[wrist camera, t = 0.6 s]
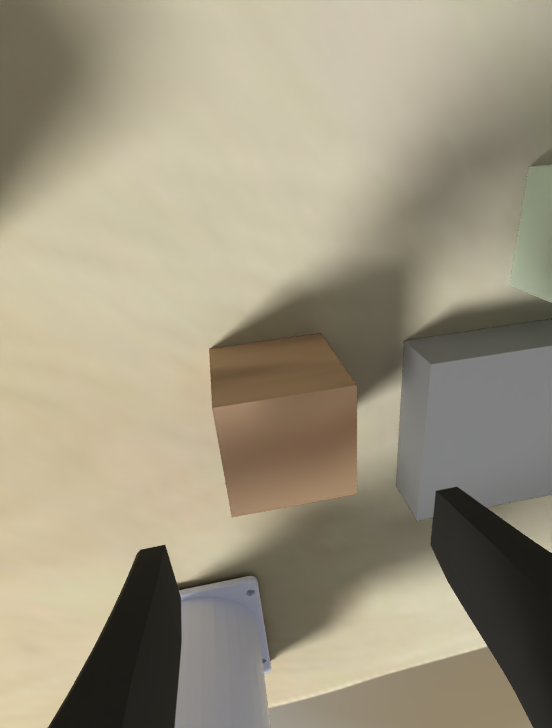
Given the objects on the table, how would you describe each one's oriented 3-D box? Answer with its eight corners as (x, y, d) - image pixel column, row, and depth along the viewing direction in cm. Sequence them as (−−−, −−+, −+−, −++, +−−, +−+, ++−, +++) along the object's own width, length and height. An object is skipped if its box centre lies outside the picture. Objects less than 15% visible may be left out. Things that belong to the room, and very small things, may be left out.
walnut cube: (323, 424, 21) (356, 493, 17) (225, 440, 21) (231, 517, 16) (320, 332, 19) (357, 385, 15) (209, 348, 18) (212, 408, 14)
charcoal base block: (536, 454, 25) (576, 489, 23) (392, 481, 24) (416, 520, 22) (571, 312, 21) (624, 334, 18) (400, 337, 20) (430, 364, 18)
